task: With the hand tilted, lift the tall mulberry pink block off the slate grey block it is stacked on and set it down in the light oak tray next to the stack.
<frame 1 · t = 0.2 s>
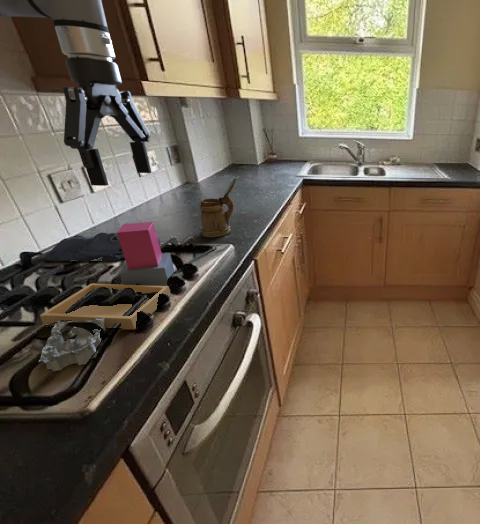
hand: (124, 178, 68), 25 cm above the worktop, tool pointing down, fingers open, 13 cm apart
wooden mug: (223, 232, 113), on the worktop
grey block: (151, 280, 81), on the worktop, touching pink block
tray: (113, 309, 70), on the worktop
grey lumpy chunk: (80, 350, 59), on the worktop
dark slate chunk: (100, 251, 96), on the worktop
pink block: (146, 262, 79), point 5 cm above the worktop, touching grey block
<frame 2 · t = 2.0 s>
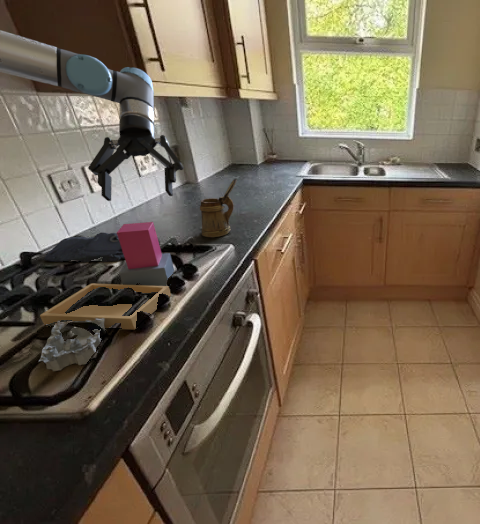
hand: (138, 195, 81), 19 cm above the worktop, tool tilted 45°, fingers open, 13 cm apart
nothing on the worktop moved.
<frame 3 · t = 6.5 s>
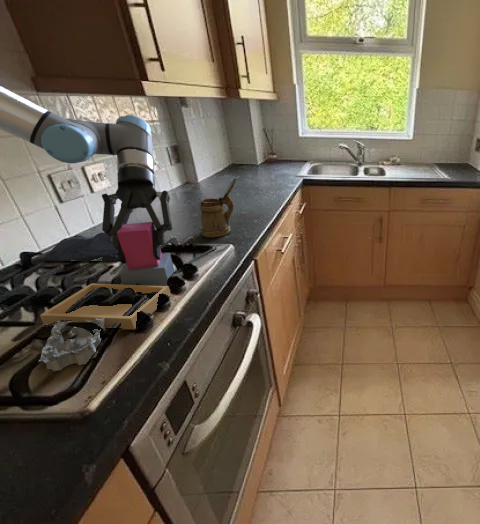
hand: (140, 259, 75), 7 cm above the worktop, tool tilted 45°, fingers closed on pink block, 6 cm apart
pink block: (146, 262, 79), point 5 cm above the worktop, touching grey block, gripper
everything else where it was.
when the fingers open (3 cm above the worktop, at t = 14.9 s): pink block stays where it is, resting on tray.
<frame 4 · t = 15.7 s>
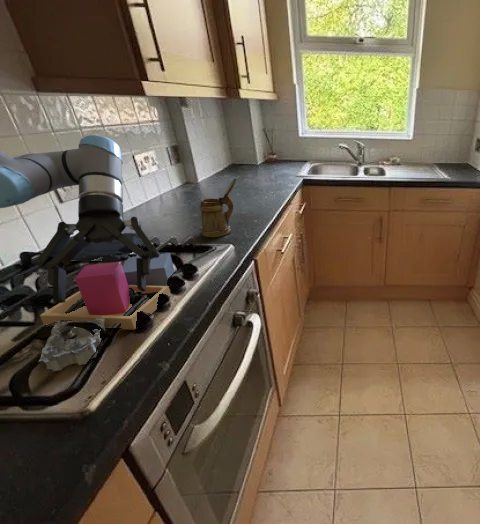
hand: (101, 295, 66), 5 cm above the worktop, tool tilted 45°, fingers open, 13 cm apart
grey block: (151, 280, 81), on the worktop
pink block: (112, 307, 70), point 1 cm above the worktop, touching tray
everything else where it was.
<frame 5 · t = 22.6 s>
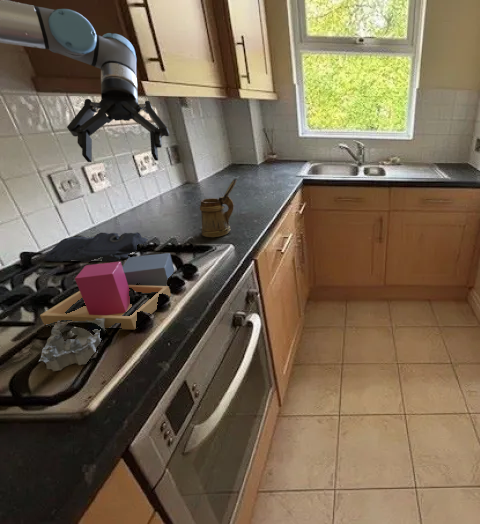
hand: (121, 157, 79), 28 cm above the worktop, tool tilted 45°, fingers open, 13 cm apart
nothing on the worktop moved.
at the end: pink block inside the target area in the tray (0.1 cm from its centre), point 0.6 cm above the tray's base; pink block tilted 0°; grey block moved 0.0 cm from its start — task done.
